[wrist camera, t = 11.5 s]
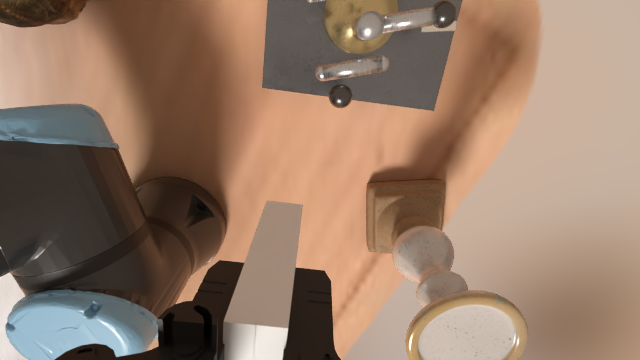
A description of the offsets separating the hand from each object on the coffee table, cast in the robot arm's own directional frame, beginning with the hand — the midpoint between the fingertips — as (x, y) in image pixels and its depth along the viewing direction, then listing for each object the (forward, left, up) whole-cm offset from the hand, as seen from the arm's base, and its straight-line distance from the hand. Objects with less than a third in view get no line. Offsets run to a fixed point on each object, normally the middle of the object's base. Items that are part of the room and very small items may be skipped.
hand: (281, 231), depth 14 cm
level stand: (+5, +10, -32) cm, 34 cm away
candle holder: (+16, -14, -33) cm, 39 cm away
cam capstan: (+6, +10, -30) cm, 33 cm away
